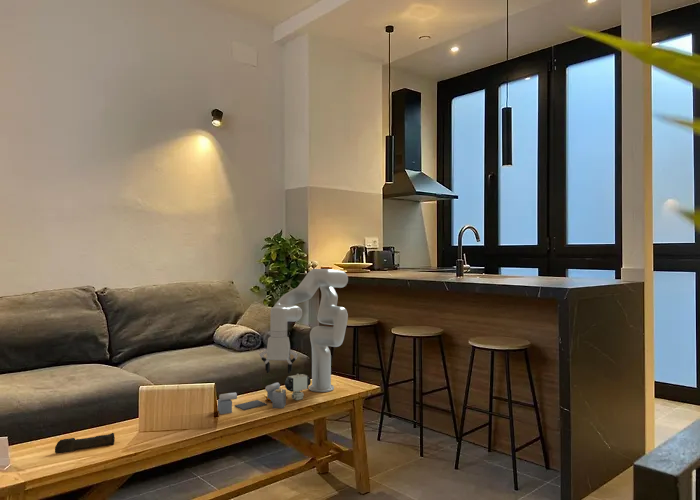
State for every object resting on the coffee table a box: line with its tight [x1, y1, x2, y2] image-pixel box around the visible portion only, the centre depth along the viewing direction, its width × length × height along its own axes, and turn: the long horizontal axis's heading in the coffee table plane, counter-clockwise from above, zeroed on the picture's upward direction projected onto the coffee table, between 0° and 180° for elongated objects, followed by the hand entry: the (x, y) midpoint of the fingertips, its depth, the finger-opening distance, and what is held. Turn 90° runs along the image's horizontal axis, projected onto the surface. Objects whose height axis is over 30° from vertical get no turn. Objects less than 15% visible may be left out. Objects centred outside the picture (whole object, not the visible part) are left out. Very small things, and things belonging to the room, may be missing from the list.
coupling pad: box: [234, 399, 268, 411], centre depth 238 cm, size 12×8×1 cm, turn 132°
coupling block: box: [271, 388, 287, 409], centre depth 237 cm, size 5×5×8 cm
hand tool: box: [54, 432, 116, 454], centre depth 188 cm, size 19×4×5 cm, turn 117°
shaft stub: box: [217, 392, 238, 415], centre depth 230 cm, size 8×5×8 cm, turn 117°
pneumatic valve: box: [284, 373, 312, 401], centre depth 248 cm, size 6×12×12 cm, turn 127°
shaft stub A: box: [265, 382, 281, 402], centre depth 245 cm, size 8×5×8 cm, turn 147°
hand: (278, 372), depth 236 cm, fingers open, 9 cm apart
